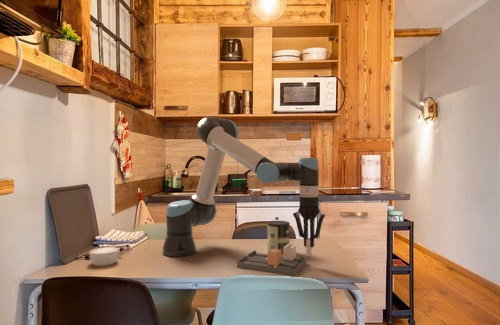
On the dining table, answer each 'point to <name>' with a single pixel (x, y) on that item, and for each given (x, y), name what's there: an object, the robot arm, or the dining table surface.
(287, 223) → the coffee can
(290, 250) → the off-white fader knob
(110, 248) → the ramekin
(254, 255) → the console
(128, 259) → the dining table surface
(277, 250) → the terracotta fader knob
